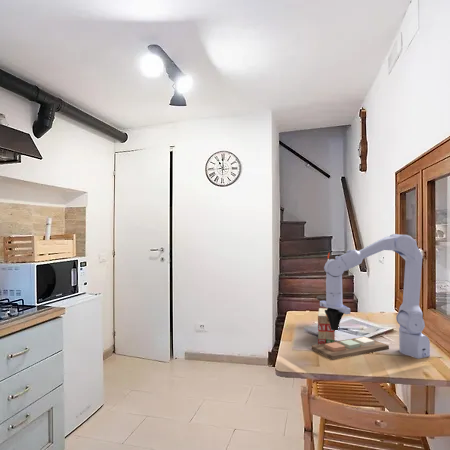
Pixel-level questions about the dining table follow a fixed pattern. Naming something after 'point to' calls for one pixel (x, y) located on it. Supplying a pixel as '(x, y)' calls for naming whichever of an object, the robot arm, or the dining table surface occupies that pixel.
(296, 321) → the dining table surface
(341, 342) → the sage tile
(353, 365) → the dining table surface
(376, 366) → the dining table surface
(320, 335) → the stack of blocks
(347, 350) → the tap panel
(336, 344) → the terracotta tile
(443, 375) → the dining table surface
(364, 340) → the cream tile
